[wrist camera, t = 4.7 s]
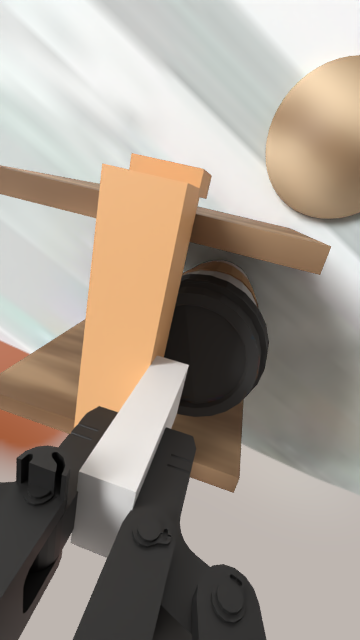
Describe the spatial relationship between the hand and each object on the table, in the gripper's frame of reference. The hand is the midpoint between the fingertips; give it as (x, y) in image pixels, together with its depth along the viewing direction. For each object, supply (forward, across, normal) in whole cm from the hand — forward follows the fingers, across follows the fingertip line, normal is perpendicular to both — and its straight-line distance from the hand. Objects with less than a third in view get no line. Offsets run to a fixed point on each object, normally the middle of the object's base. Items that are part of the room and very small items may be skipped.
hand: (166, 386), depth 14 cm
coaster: (+18, +7, +14) cm, 24 cm away
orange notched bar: (+4, -2, 0) cm, 4 cm away
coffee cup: (+18, 0, 0) cm, 18 cm away
